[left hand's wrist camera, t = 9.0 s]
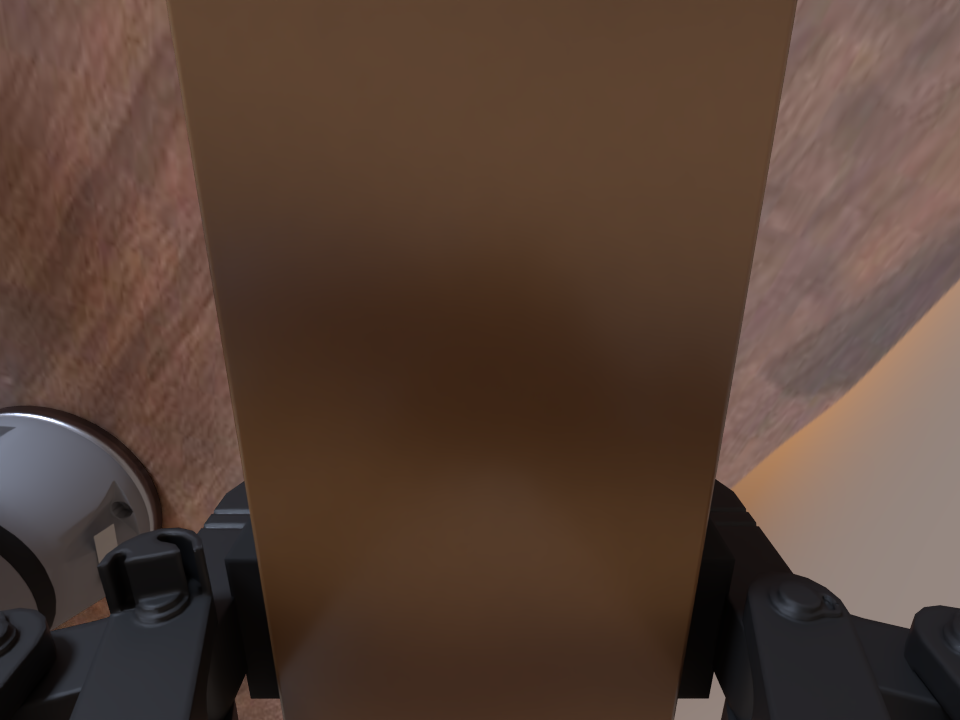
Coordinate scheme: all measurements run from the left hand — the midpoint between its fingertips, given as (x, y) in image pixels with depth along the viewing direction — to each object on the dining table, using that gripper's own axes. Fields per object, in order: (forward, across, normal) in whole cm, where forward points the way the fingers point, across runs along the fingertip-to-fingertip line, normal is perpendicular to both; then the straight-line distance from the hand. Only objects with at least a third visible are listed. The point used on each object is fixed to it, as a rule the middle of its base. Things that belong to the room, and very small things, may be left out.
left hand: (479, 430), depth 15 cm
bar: (+1, 0, -22) cm, 22 cm away
